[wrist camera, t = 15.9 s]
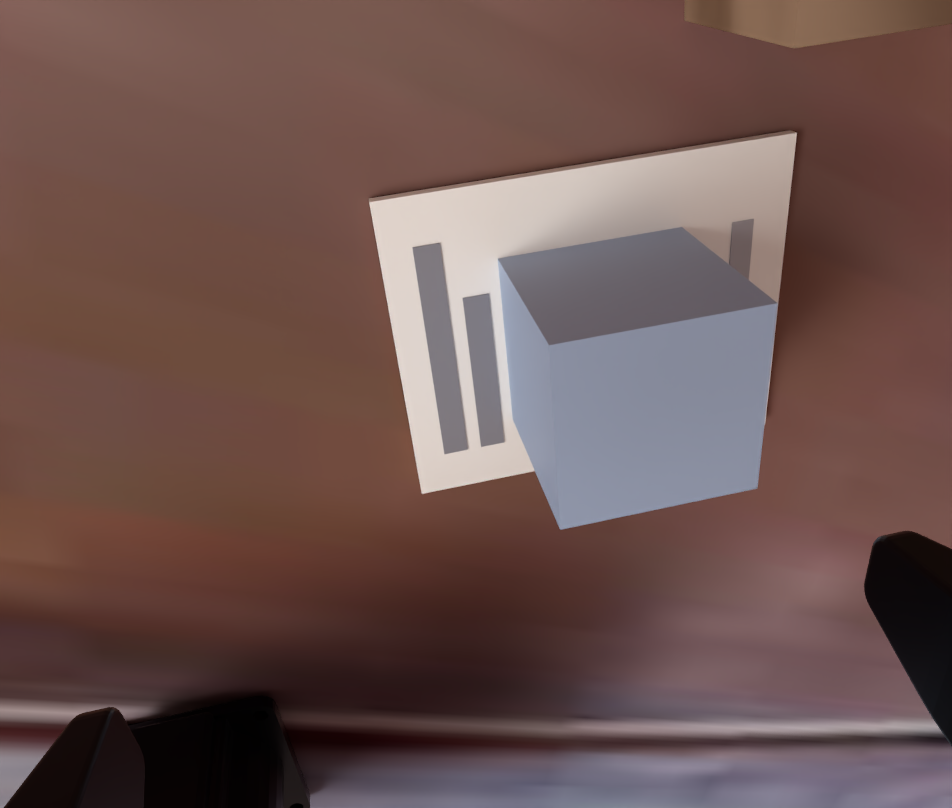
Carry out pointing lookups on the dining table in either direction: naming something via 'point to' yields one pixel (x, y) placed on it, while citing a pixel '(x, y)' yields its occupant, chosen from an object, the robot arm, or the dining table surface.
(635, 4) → the dining table surface
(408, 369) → the letter
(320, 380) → the dining table surface
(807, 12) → the walnut block
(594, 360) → the slate blue cube
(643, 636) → the dining table surface
